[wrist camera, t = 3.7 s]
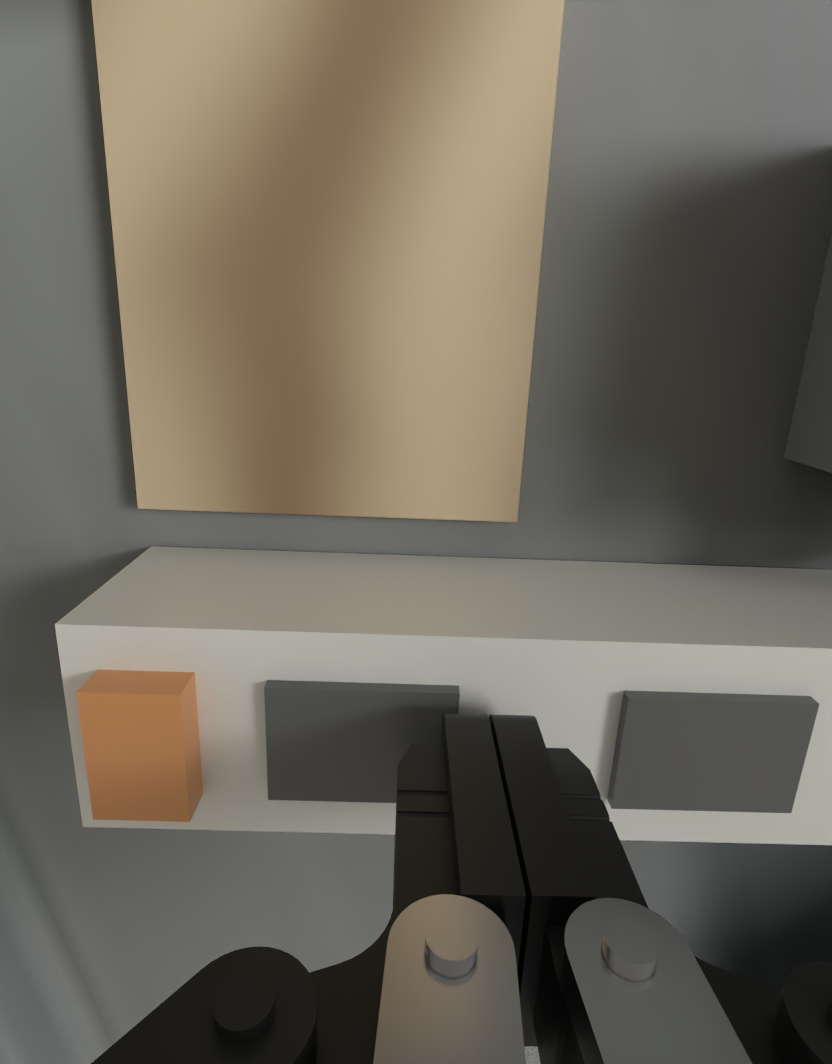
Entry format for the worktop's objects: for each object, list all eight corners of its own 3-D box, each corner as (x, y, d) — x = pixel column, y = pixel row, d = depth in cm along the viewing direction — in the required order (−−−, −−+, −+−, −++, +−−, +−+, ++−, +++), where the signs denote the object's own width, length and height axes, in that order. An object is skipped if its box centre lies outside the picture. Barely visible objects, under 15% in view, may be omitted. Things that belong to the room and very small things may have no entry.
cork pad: (575, -185, 10) (583, -210, 10) (513, 515, 14) (517, 522, 13) (84, -215, 10) (69, -242, 10) (147, 502, 14) (137, 508, 13)
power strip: (1368, 588, 15) (1792, 697, 10) (1291, 736, 16) (1641, 893, 11) (151, 546, 14) (30, 644, 10) (164, 704, 15) (62, 857, 11)
